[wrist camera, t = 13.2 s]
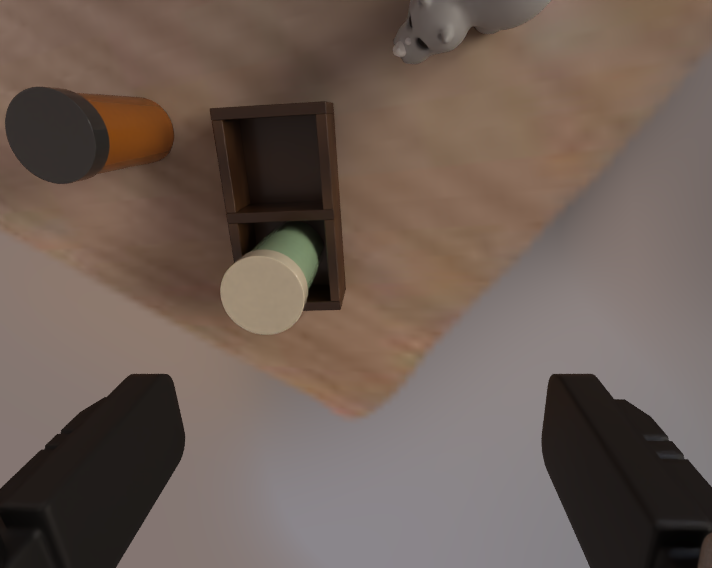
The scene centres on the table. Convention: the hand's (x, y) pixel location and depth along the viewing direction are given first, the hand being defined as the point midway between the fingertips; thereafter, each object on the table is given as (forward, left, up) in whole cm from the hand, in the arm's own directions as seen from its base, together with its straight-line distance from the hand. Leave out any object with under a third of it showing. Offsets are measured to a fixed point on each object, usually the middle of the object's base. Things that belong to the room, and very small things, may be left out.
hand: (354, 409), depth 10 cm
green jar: (+5, -8, -30) cm, 31 cm away
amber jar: (-6, -20, -30) cm, 36 cm away
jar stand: (+1, -8, -30) cm, 31 cm away
